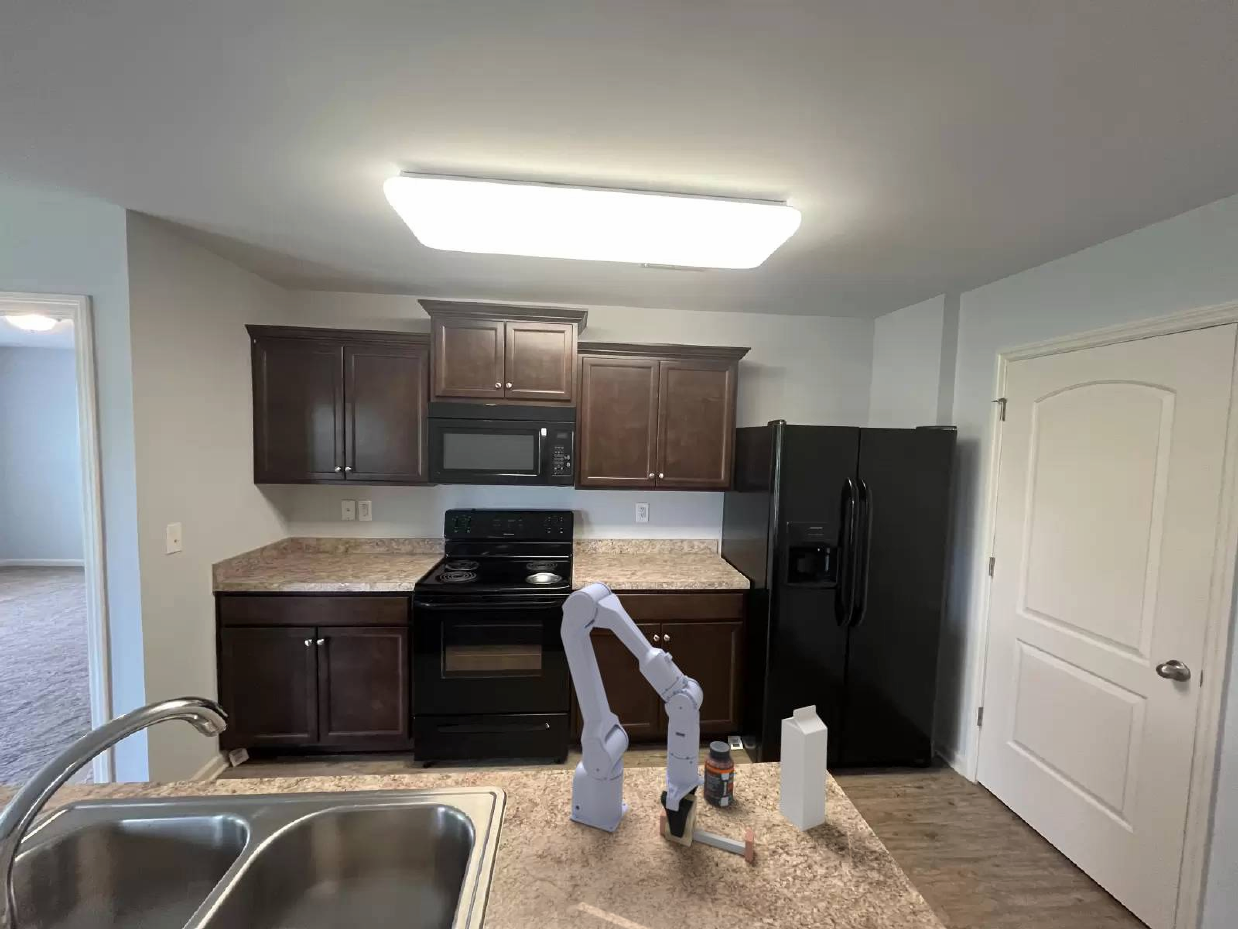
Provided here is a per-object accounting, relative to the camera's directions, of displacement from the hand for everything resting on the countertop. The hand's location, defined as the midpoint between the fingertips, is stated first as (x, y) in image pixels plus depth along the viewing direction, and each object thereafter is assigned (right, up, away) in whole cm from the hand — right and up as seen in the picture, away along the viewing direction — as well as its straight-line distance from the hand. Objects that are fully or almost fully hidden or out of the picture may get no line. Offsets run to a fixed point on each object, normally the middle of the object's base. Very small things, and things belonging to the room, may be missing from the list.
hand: (680, 825), depth 90 cm
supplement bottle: (+9, -3, +10) cm, 14 cm away
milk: (+24, -4, +6) cm, 25 cm away
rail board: (+4, -3, -2) cm, 5 cm away
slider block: (0, -2, 0) cm, 2 cm away
